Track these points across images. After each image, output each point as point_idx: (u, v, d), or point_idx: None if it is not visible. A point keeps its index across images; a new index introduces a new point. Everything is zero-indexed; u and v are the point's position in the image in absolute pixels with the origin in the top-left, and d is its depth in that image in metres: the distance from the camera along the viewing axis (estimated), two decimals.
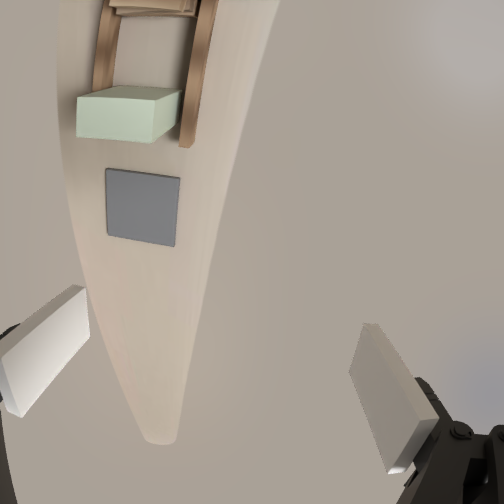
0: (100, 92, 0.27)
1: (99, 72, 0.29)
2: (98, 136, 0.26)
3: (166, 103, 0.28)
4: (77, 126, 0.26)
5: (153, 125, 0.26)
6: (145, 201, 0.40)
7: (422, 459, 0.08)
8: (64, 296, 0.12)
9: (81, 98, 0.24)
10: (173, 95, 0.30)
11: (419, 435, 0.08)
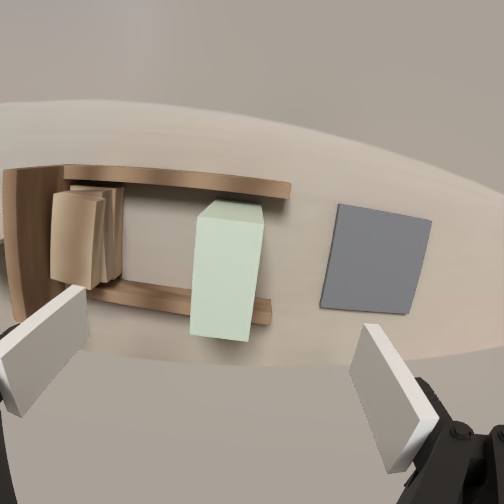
0: None
1: (182, 306, 0.28)
2: (249, 307, 0.21)
3: (217, 209, 0.23)
4: (233, 338, 0.22)
5: (237, 220, 0.19)
6: (369, 254, 0.29)
7: (422, 459, 0.08)
8: (63, 296, 0.12)
9: (191, 328, 0.21)
10: (213, 204, 0.25)
11: (419, 435, 0.08)
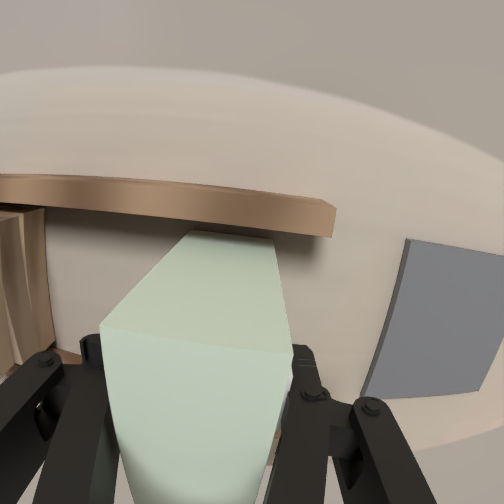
0: None
1: None
2: (250, 494, 0.08)
3: (176, 272, 0.10)
4: None
5: (212, 337, 0.06)
6: (445, 319, 0.16)
7: (282, 425, 0.09)
8: None
9: None
10: (176, 250, 0.12)
11: None
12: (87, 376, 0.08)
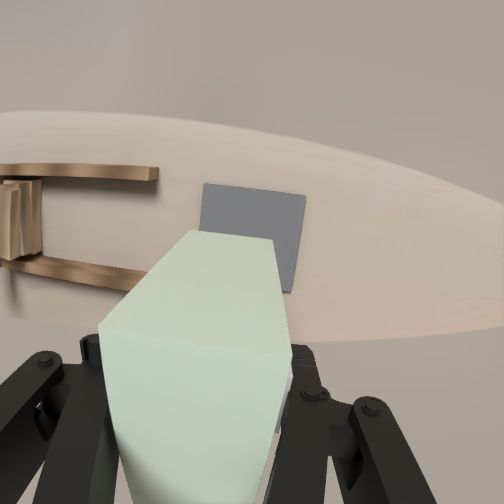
0: None
1: (76, 275, 0.31)
2: (249, 495, 0.08)
3: (175, 273, 0.10)
4: None
5: (211, 338, 0.06)
6: (237, 230, 0.32)
7: (282, 425, 0.09)
8: None
9: None
10: (176, 250, 0.12)
11: None
12: (87, 376, 0.08)
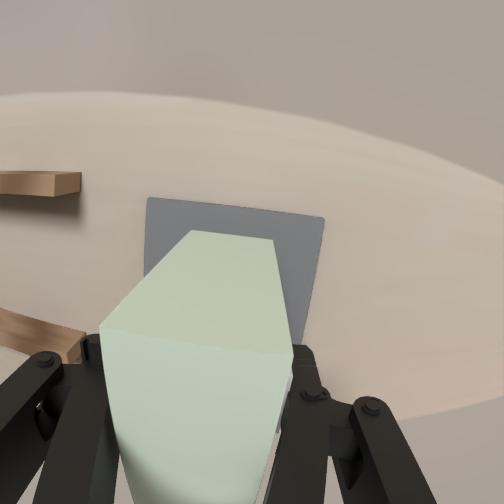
0: None
1: None
2: (250, 495, 0.08)
3: (176, 273, 0.10)
4: None
5: (213, 338, 0.06)
6: None
7: (282, 425, 0.09)
8: None
9: None
10: (176, 251, 0.12)
11: None
12: (87, 376, 0.08)
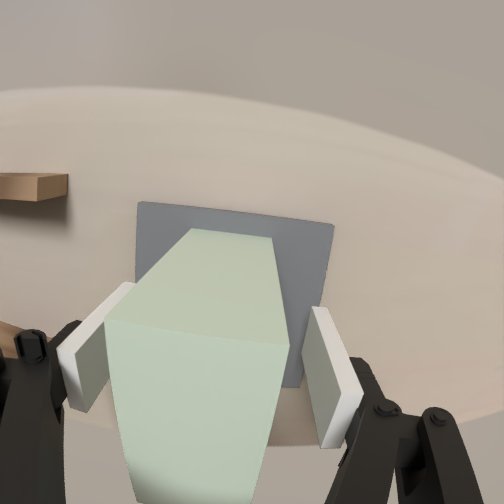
0: None
1: None
2: (248, 486, 0.08)
3: (177, 269, 0.10)
4: None
5: (212, 329, 0.07)
6: None
7: (350, 438, 0.09)
8: (120, 292, 0.14)
9: (138, 496, 0.08)
10: (177, 248, 0.12)
11: (345, 409, 0.09)
12: (23, 371, 0.07)
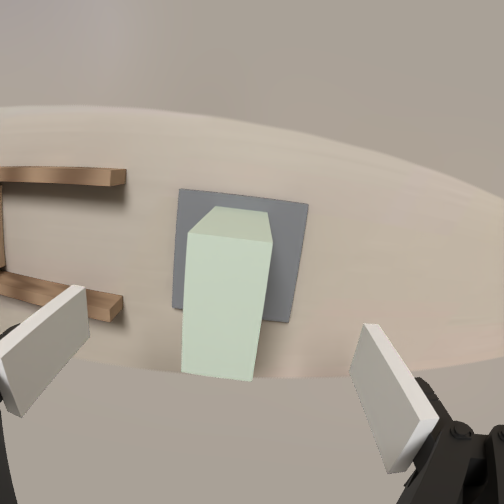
0: None
1: (37, 297, 0.25)
2: (254, 343, 0.17)
3: (215, 220, 0.19)
4: (234, 377, 0.17)
5: (238, 237, 0.15)
6: None
7: (422, 459, 0.08)
8: (64, 296, 0.12)
9: (183, 365, 0.17)
10: (211, 213, 0.21)
11: (419, 435, 0.08)
12: None
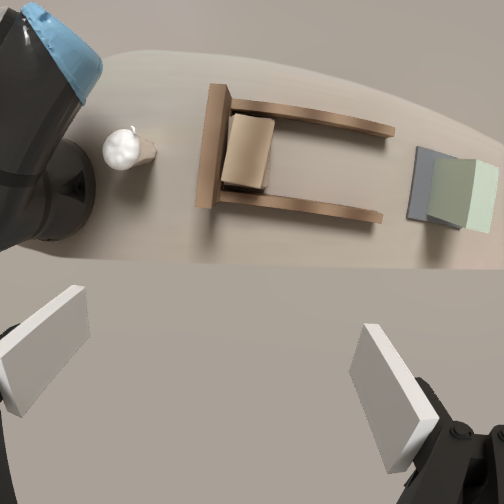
0: (452, 216, 0.34)
1: (322, 207, 0.38)
2: (491, 212, 0.30)
3: None
4: (482, 231, 0.31)
5: (488, 164, 0.29)
6: None
7: (422, 459, 0.08)
8: (63, 296, 0.12)
9: (467, 224, 0.31)
10: None
11: (419, 435, 0.08)
12: None
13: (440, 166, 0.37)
